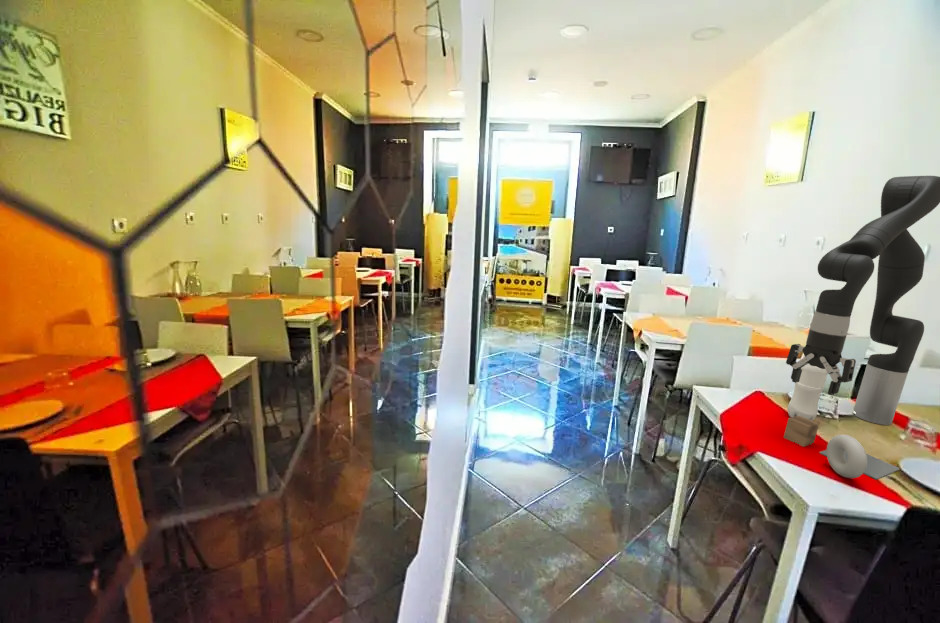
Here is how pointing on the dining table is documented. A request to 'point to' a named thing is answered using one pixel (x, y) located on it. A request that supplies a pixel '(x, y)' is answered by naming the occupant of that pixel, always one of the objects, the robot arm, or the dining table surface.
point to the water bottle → (807, 392)
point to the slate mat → (873, 466)
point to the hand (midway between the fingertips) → (812, 387)
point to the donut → (855, 456)
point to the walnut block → (801, 430)
